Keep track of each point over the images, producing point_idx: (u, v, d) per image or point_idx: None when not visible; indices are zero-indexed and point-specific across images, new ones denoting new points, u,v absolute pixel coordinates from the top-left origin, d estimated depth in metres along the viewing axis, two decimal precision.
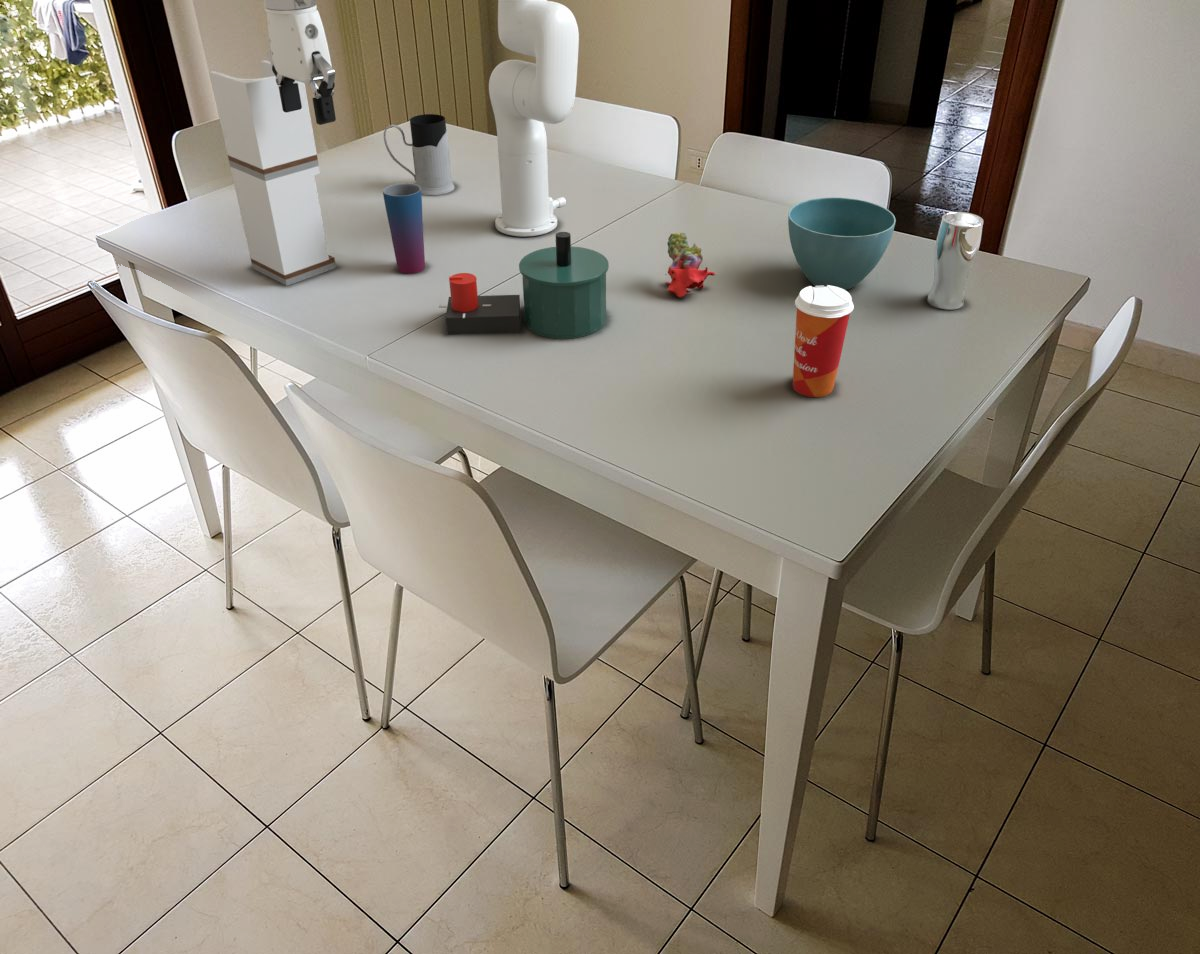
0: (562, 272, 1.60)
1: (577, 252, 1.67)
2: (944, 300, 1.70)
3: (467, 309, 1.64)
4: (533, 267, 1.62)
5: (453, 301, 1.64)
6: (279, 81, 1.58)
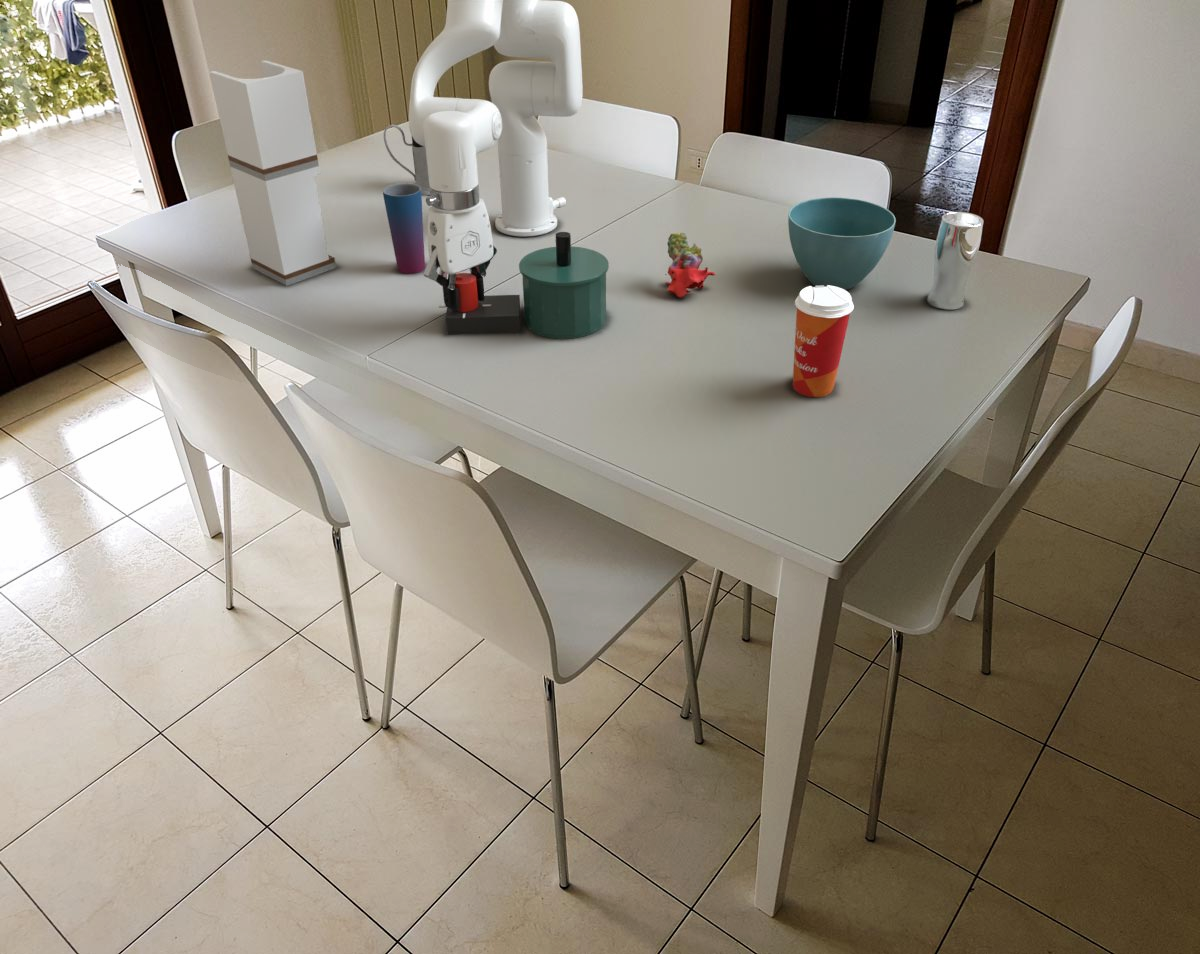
0: (562, 272, 1.60)
1: (577, 252, 1.67)
2: (944, 300, 1.70)
3: (467, 308, 1.64)
4: (533, 267, 1.62)
5: None
6: (470, 268, 1.66)
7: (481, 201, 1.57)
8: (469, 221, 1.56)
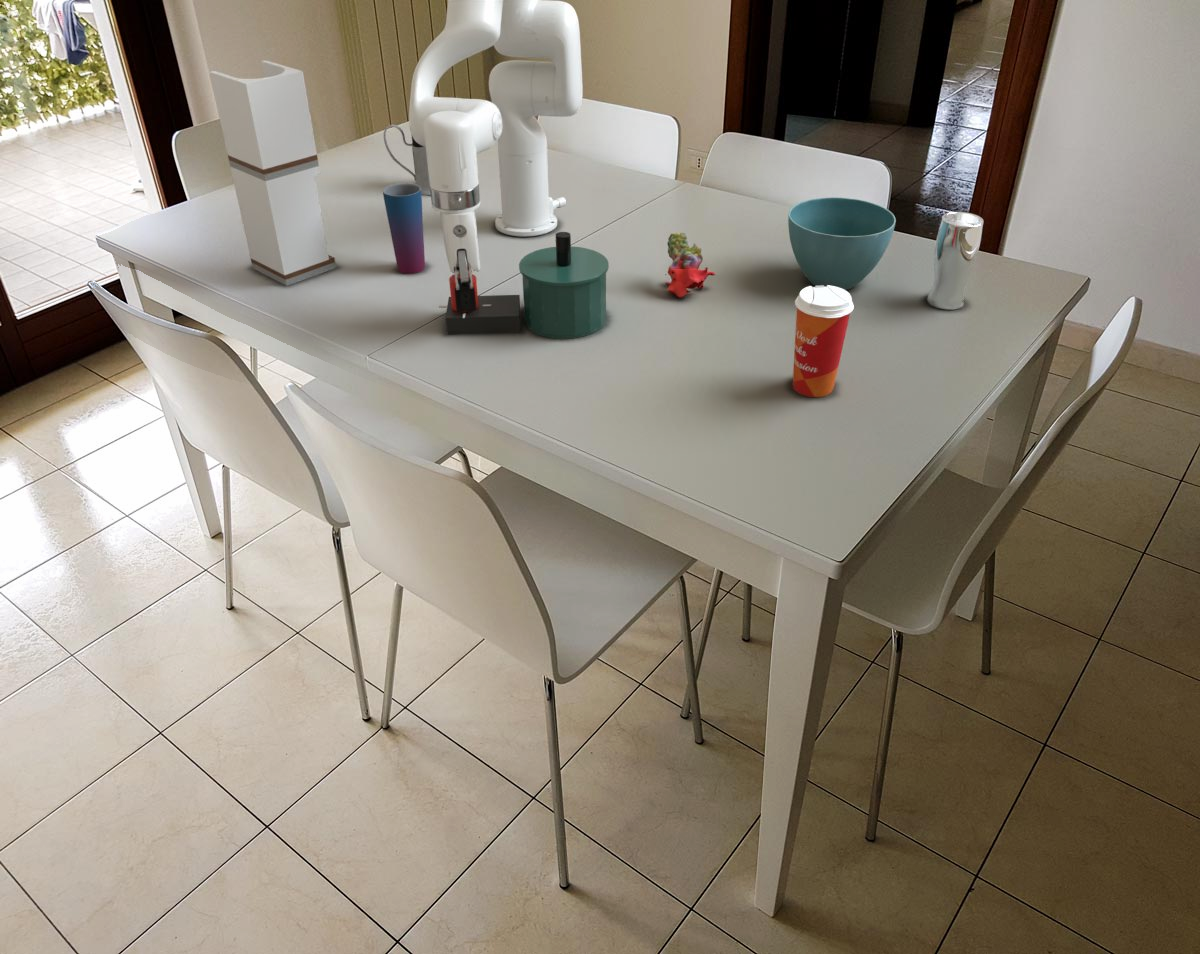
0: (562, 272, 1.60)
1: (577, 252, 1.67)
2: (944, 300, 1.70)
3: (477, 305, 1.65)
4: (533, 267, 1.62)
5: None
6: None
7: None
8: None
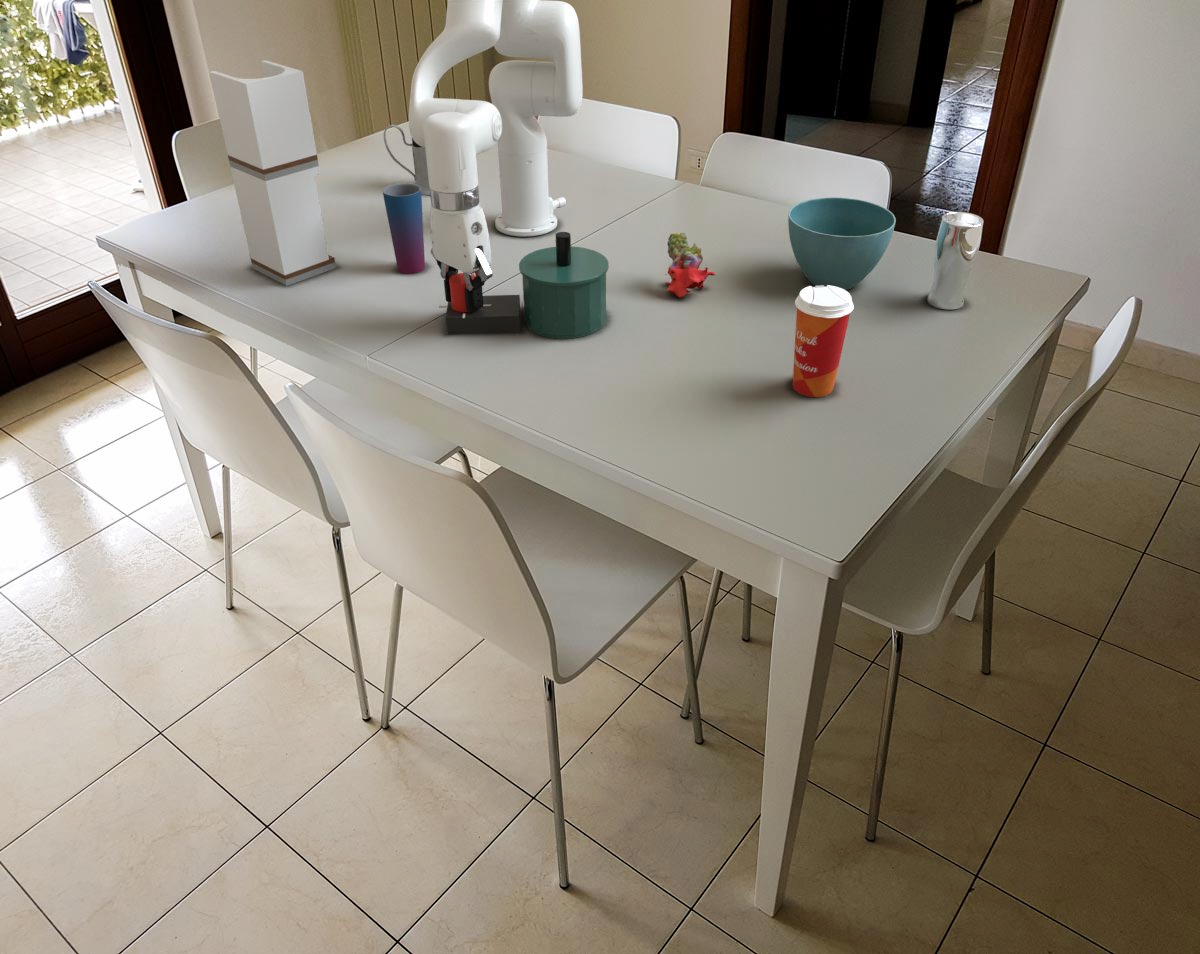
0: (562, 272, 1.60)
1: (577, 252, 1.67)
2: (944, 300, 1.70)
3: None
4: (533, 267, 1.62)
5: None
6: (444, 273, 1.64)
7: None
8: None
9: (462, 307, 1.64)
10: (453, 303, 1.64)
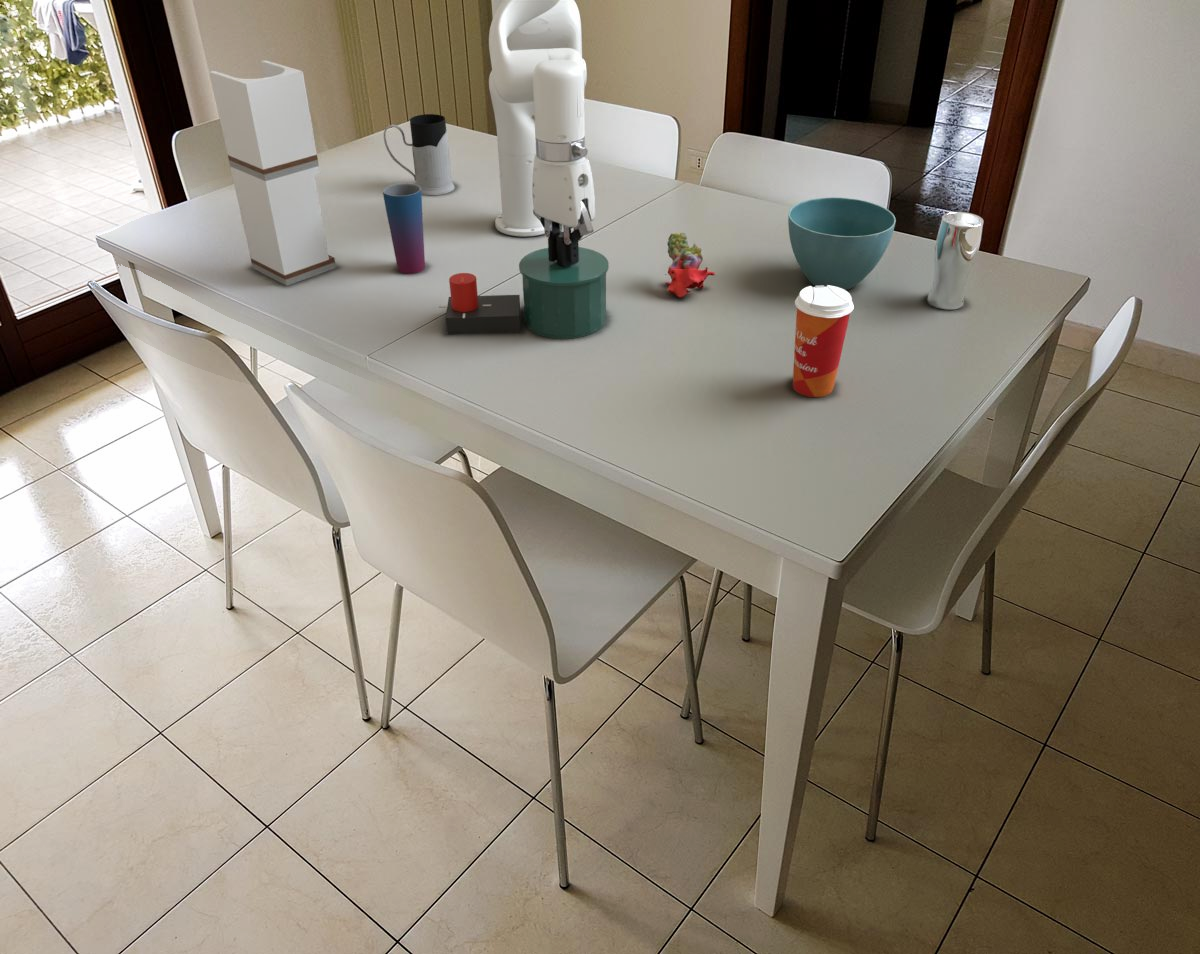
0: (562, 272, 1.60)
1: None
2: (944, 300, 1.70)
3: None
4: (533, 267, 1.62)
5: (472, 302, 1.64)
6: (548, 231, 1.60)
7: None
8: None
9: (462, 307, 1.64)
10: (453, 303, 1.64)
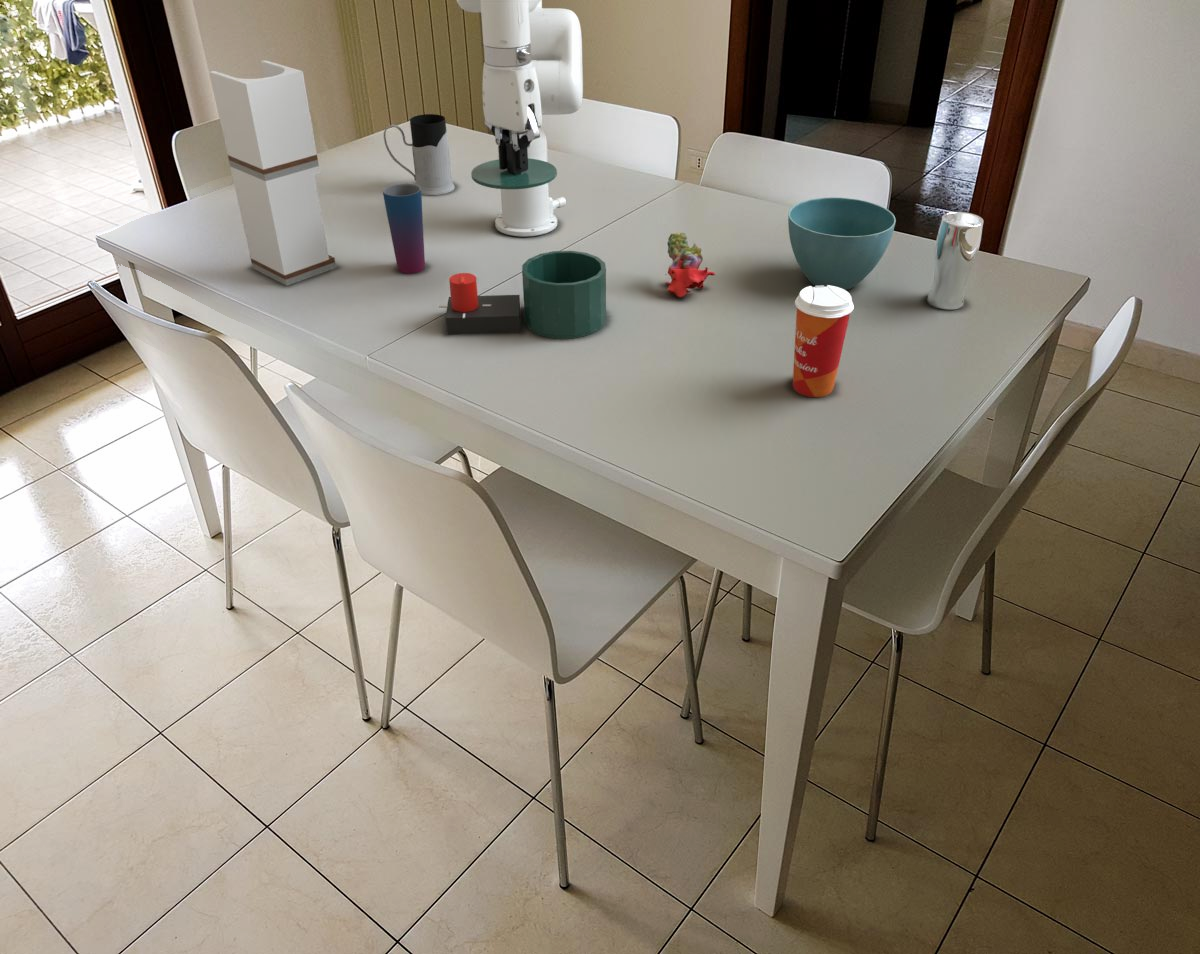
0: (512, 178, 1.68)
1: None
2: (944, 300, 1.70)
3: None
4: (484, 174, 1.70)
5: (472, 302, 1.64)
6: (498, 139, 1.68)
7: None
8: None
9: (462, 307, 1.64)
10: (453, 303, 1.64)
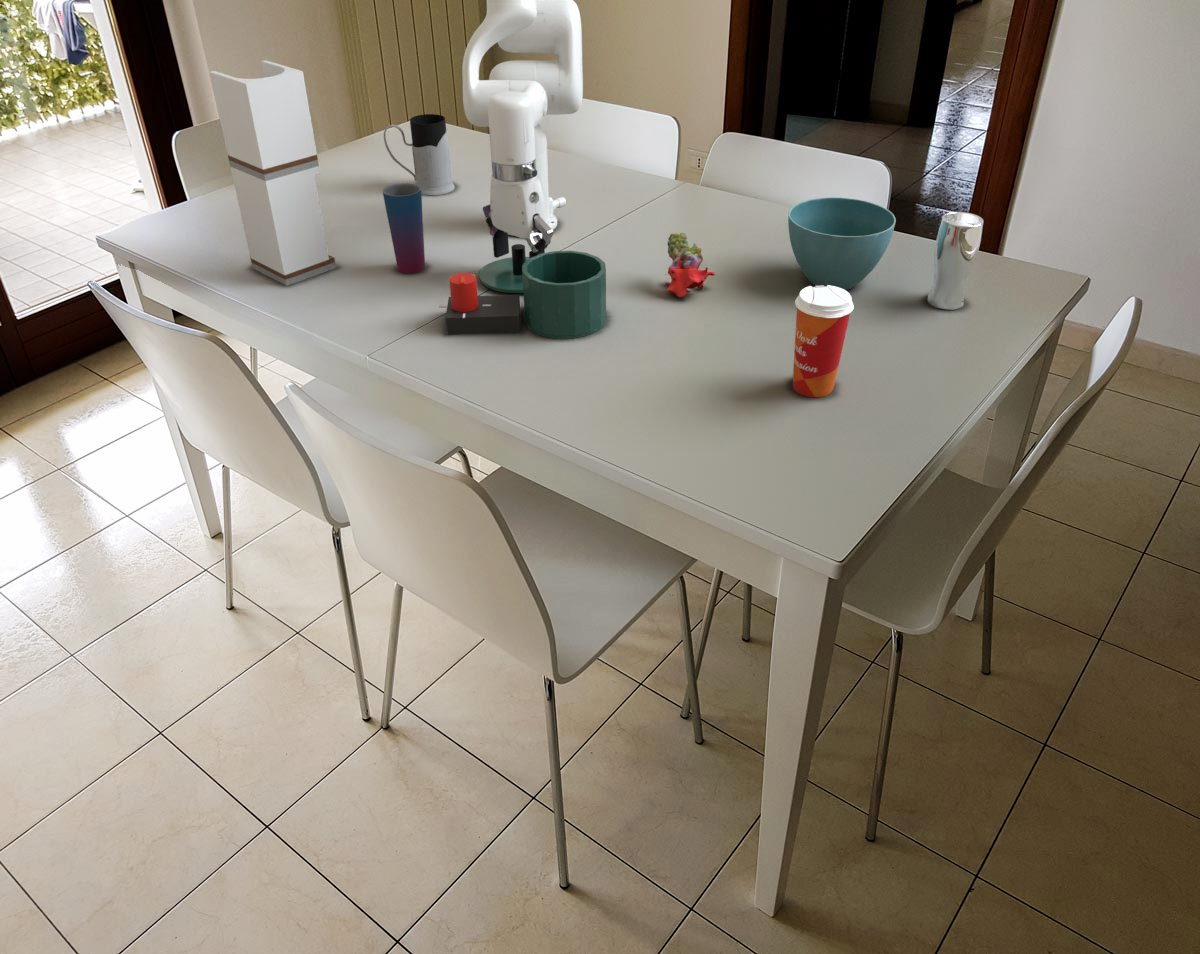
0: (517, 280, 1.79)
1: None
2: (944, 300, 1.70)
3: None
4: (492, 276, 1.80)
5: (472, 302, 1.64)
6: (493, 232, 1.80)
7: None
8: None
9: (462, 307, 1.64)
10: (453, 303, 1.64)
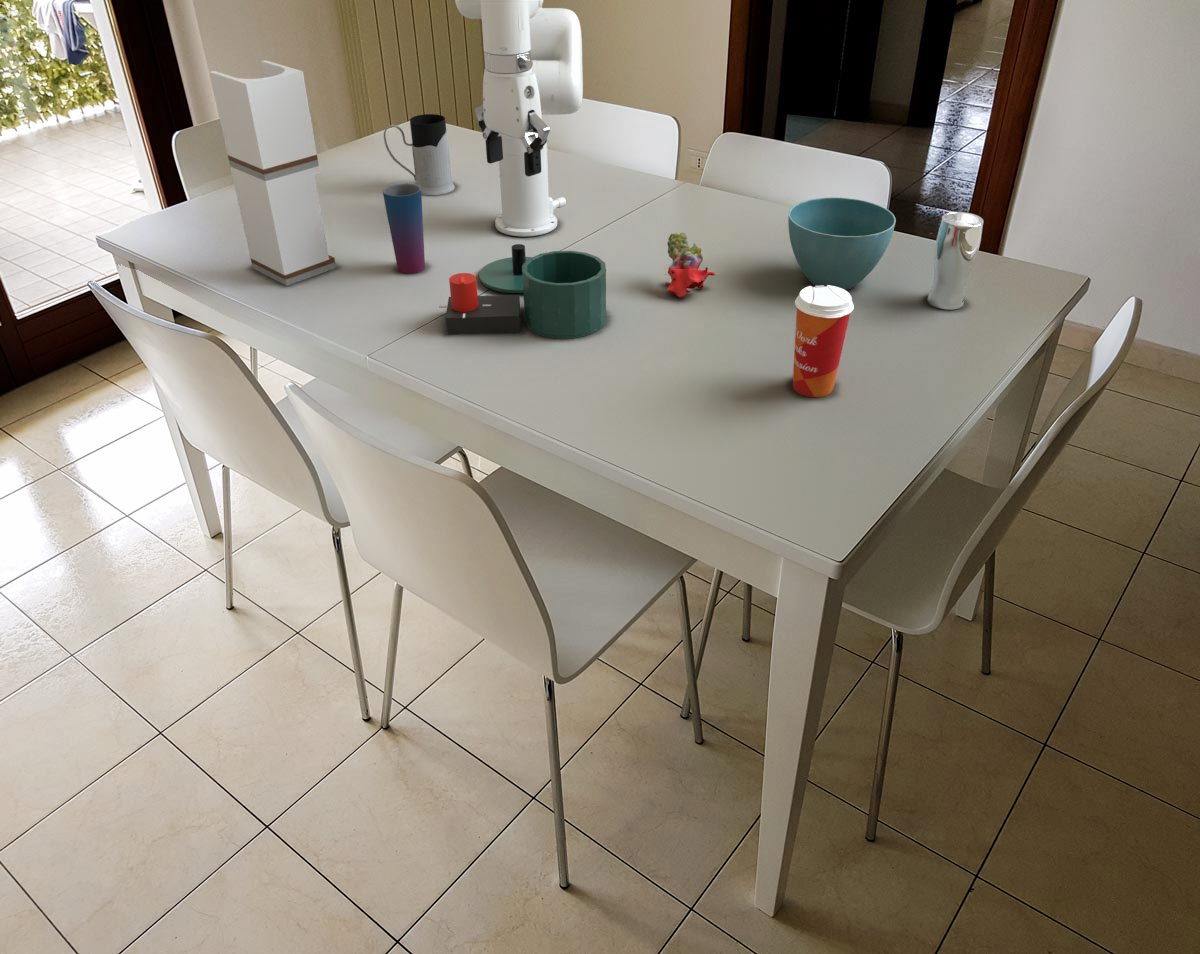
0: (517, 280, 1.79)
1: None
2: (944, 300, 1.70)
3: None
4: (492, 276, 1.80)
5: (472, 302, 1.64)
6: (486, 135, 1.70)
7: None
8: None
9: (462, 307, 1.64)
10: (453, 303, 1.64)
